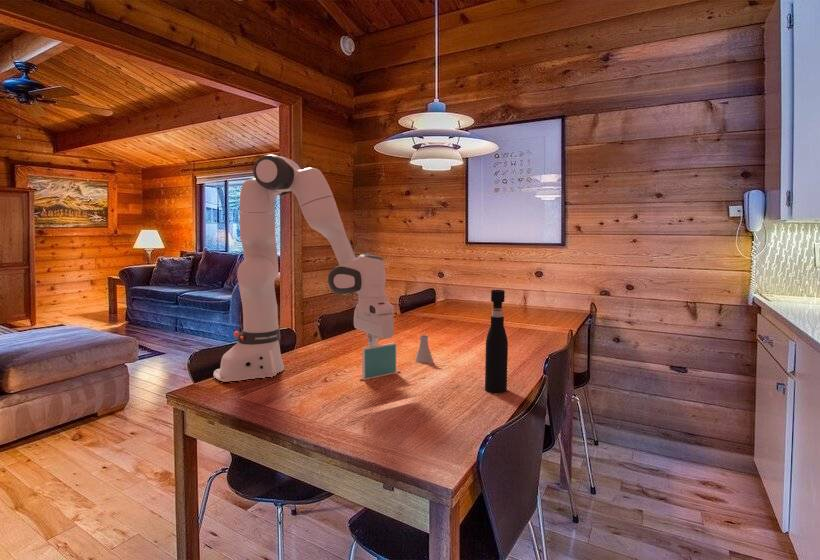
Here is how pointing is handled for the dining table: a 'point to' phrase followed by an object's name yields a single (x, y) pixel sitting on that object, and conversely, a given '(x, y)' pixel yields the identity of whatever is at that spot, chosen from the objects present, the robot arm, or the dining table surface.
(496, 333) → the wine bottle
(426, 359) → the flask
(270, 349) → the robot arm
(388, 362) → the tile
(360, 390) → the dining table surface
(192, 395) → the dining table surface
